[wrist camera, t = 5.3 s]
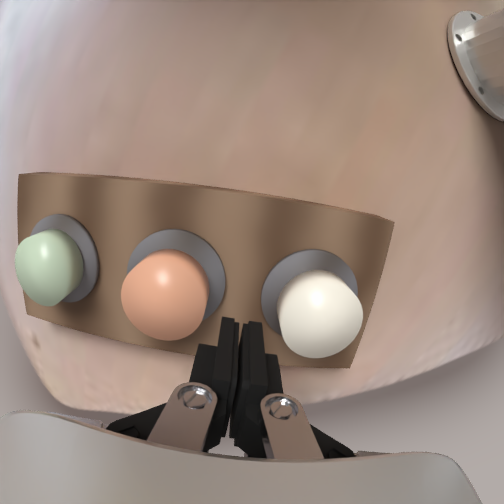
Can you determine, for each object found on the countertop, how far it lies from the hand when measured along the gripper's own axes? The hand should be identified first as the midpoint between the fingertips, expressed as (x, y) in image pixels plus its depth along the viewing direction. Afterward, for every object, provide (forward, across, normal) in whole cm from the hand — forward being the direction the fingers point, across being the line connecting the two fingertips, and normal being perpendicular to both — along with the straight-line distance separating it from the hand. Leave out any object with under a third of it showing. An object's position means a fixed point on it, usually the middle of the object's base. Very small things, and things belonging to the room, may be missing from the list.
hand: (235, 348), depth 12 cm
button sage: (+7, +13, +1) cm, 15 cm away
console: (+11, +4, +1) cm, 11 cm away
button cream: (+6, -5, 0) cm, 8 cm away
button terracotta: (+6, +4, 0) cm, 7 cm away
